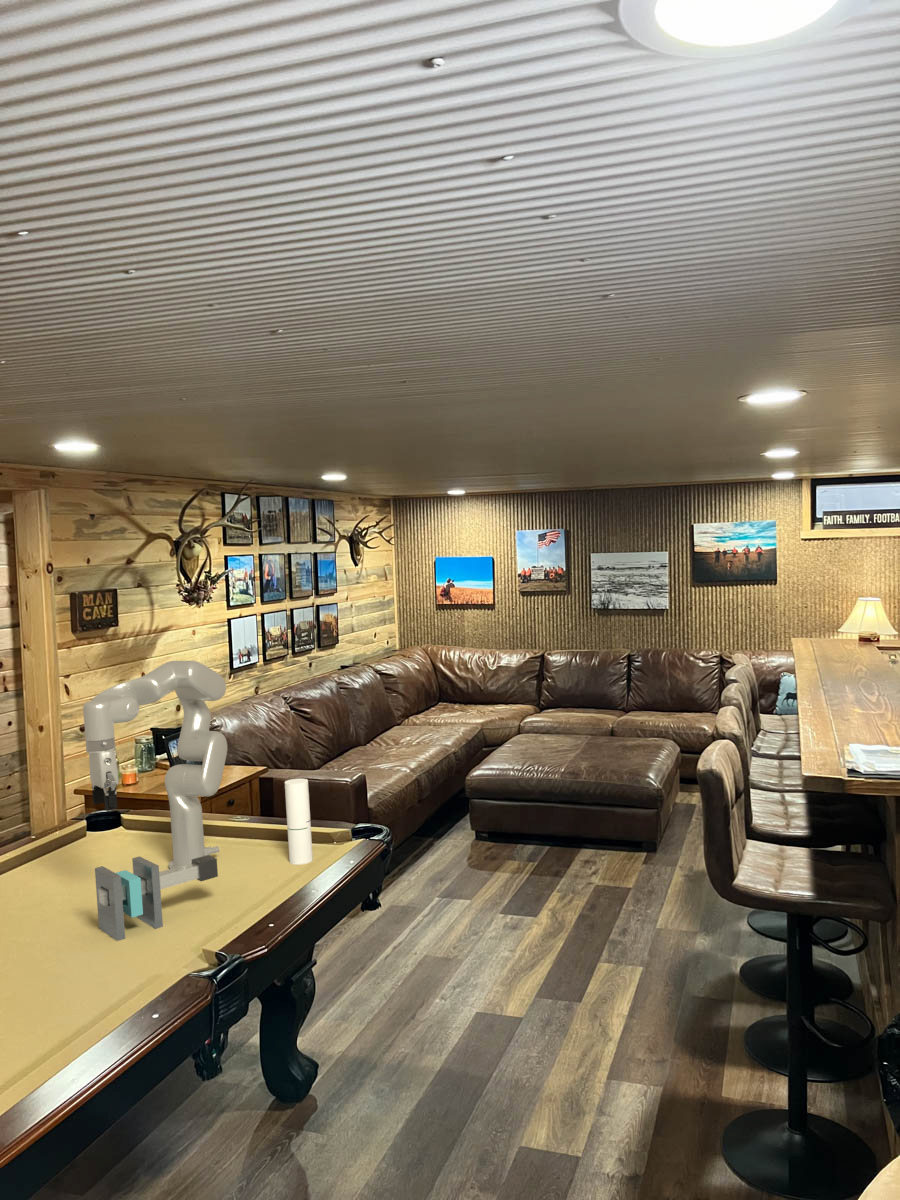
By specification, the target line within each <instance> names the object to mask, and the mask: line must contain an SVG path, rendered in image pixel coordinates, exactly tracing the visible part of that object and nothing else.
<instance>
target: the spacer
mask: <svg viewBox="0 0 900 1200" xmlns="http://www.w3.org/2000/svg"><path fill="white" fill-rule="evenodd" d="M115 873H116V874H118V875H120V876H121V884H122V885H124V886H126V887H127V899H126V900H123V914H124V915H126V916H128V917H129V918H132V919H133V918H137V917H136V916H139V915H143V906H142V892H141V878H140V877H138V876H136V875H134V874H133V872H130V871H129V870H126V869H124V870H120V871H117V872H115Z"/></svg>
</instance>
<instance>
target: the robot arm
mask: <svg viewBox="0 0 900 1200" xmlns="http://www.w3.org/2000/svg"><path fill="white" fill-rule="evenodd" d="M226 690H227V684H226V681H225V679H224V677H223V676H222V675H221V674H219V672H217V671H215V670H213V669H212V668H211V667H208V666H206V665H205V664H203V663H202V662H199V661H196V660H171V661H167V662H164V663H163V664H161V665H160V666H158V667H156V668H154V669H152V671H150V672H148V673H146V674H143V676H141V677H137V678H135V679H131V680H129V681H126V682H121V683H119V684H117V685H116V684H115V685H113V686H110V687H109V688H107V689H105V690H103V691H102V692H100V693H98V694H96V695H95V696H93V698H92V699H91V700H90V701H86V702H85V703H84V704H83V707H82V708H83V709H82V711H83V720H84V721H83V723H84V725H83V726H84V736H85V750H86V751H85V752H86V753H87V754H88V755H89V757H88V758H89V759H88V761H89V762H88V765H89V778H90V782H91V790H92V791H91V792H92V803H93V805H98V804H103V803H104V810H105V811H106V812H107V811H108V812H109V811H111V810H116V809H118V800H117V799H118V798H117V797H118V796H117V793H118V792H117V786H119V784H120V781H119V771H118V765H117V764H118V763H117V758H116V755H115V749H116V741H115V740H116V739H115V724H118V723H119V724H120V723H121V724H122V723H128V722H131V721H132V720H134V719H136V718H137V716H138V715H139V712H140V706H144V705H145V706H146V705H149V704H152V703H156V702H158V701H159V700H161V699H163V698H164V697H165V696H167V695H169V694H170V693H172V692H173V691H175V692H174V693H175V694H176V696H177V698H178V700H179V702H180V704H181V706H182V710H183V718H182V720H183V721H182V725H181V728H180V733H179V738H178V743H177V749H176V751H177V755H178V757H179V759H181V760H184V761H187V762H188V761H189V762H202V763H201V764H192V763H191V764H188V763H187V764H185V763H183V764H175V765H173V766H171V767H170V768H168V769H167V771H166V772H165V773H166V774H165V776H164V786H165V787H164V788H165V791H166V794H167V797H168V798H167V799H168V803H169V804H168V805H169V811H170V828H171V845H172V855H173V856H172V857H173V859H172V860H171V861H169V862H168V868H169V869H172V868H176V867H179V866H183V865H187V864H190V863H192V859H195V858H199V857H202V856H206V855H209V856H211V855H213V854H218V853H219V852H220V847H219V846H218V845H217V846H214V847H212V846H207V847H206V846H205V835H204V822H203V821H204V820H203V808H202V804H201V801H200V799H199V797H211V796H213V795H215V794H217V792H218V790H219V789H220V786H221V784H222V783H221V782H222V779H223V773H224V770H225V769H224V768H225V764H226V759H227V755H228V741H227V738H226V737H225V735H224V734H223V732H222V733H221V732H220V731H217V730H210V727H211V723H212V722H211V721H212V715H211V711H210V709H209V707H208V705H207V703H206V701H207V702H215V701H219V700H221V699H222V698H224V696H225V694H226Z"/></svg>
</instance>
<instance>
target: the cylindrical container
mask: <svg viewBox="0 0 900 1200" xmlns="http://www.w3.org/2000/svg"><path fill="white" fill-rule="evenodd" d="M284 790H285V791H284V792H285V795H284V796H285V797H284V798H285V810H286V824H287V825H286V826H287V840H288V841H287V842H288V858H289V859H288V860H289V863H290V864H291V865H294V866H295V865H297V866H298V865H300V866H301V865H307V864H309V863H311V862H313V857H314V856H313V843H312V842H313V840H312V828H311V827H312V826H311V825H312V824H311V810H310V792H309V780H308V779H307V778H292V779H288V780H285V781H284Z"/></svg>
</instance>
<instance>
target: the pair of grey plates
mask: <svg viewBox="0 0 900 1200" xmlns="http://www.w3.org/2000/svg"><path fill="white" fill-rule="evenodd" d="M131 862H132V874H134V875H136V876H138V877H142V878H144V879H146V880H147V892H148V893H147V894H143V895H142V906H143V915H139V916H136V917H135V918H137V919H138V920H141V922H144V923H145V924H146V925H149V926H150V927H152V928H153V929H155V930H157V929H160V928H163V927H164V921H163V920H164V919H163V907H162V895H161V894H162V893H161V890H160V876H159V872H160V866H159V865H158V864H156V863H154V862H153V861H150V860H148V859H146V858H144V857H141V856H136V857H132V861H131ZM94 874H95V877H94V878H95V889H96V890H95V891H96V892H95V893H96V903H97V904H96V905H97V915H98V916H97V917H98V918H97V921H98V929H99V930H100V929H101V930H100V931H102V932H103V933H104V934H106V935H108V937H110V938H112V939H114V940H115V941H117V942H119V941H122V940H125V939H126V931H125V930H126V929H125V917H124V915H125V913H123V900H122V886H121V876H120V875H118V874H116V872H115V871H113V870H110V869H109V868H107V867H105V866H102V865H101V866H96V867H94ZM100 888H105V889H107V890H109V903H110V904H109V905H105V906H104V905H103V904H101V903H99V891H98V889H100Z"/></svg>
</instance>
